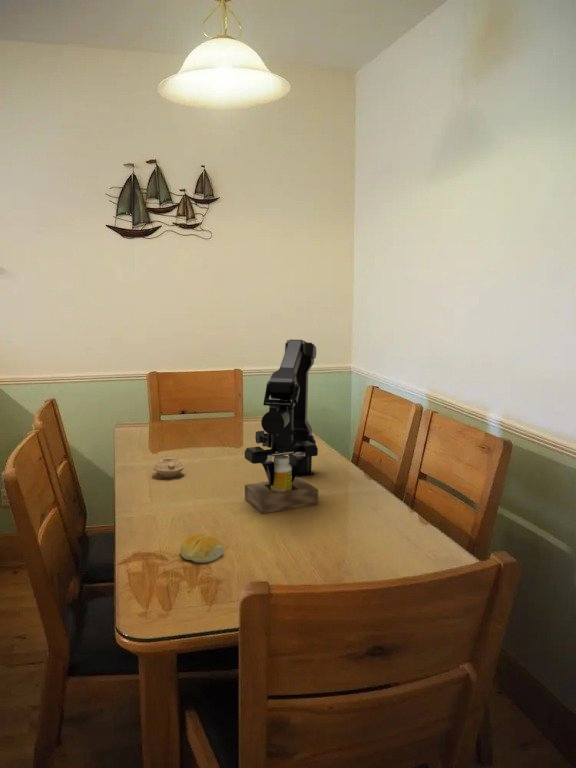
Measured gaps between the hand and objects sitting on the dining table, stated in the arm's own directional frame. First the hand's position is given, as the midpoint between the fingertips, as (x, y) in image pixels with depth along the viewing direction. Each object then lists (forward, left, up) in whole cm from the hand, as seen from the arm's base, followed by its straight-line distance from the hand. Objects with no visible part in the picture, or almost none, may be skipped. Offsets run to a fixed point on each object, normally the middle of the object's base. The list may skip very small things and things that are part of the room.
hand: (281, 483), depth 157 cm
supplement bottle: (0, 0, -3) cm, 3 cm away
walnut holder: (0, 0, -5) cm, 5 cm away
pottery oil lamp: (+20, -35, -5) cm, 41 cm away
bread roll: (+29, +21, -5) cm, 36 cm away
